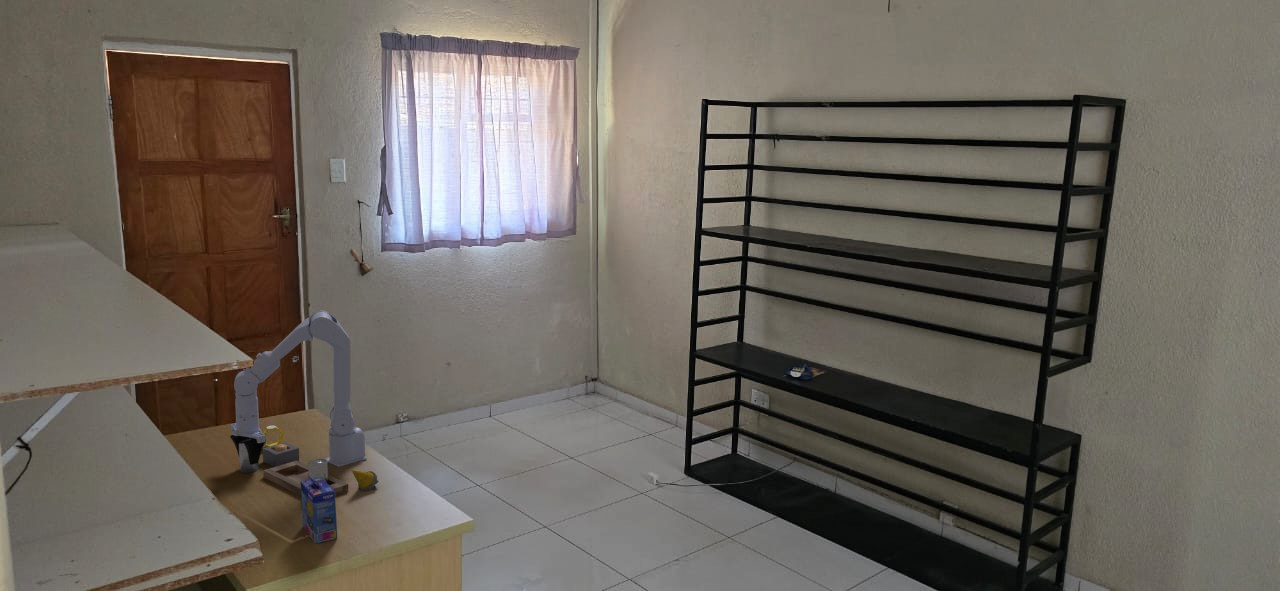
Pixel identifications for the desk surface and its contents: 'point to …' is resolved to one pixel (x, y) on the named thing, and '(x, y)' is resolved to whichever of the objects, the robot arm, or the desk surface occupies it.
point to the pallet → (298, 477)
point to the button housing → (280, 455)
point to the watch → (271, 428)
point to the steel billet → (246, 459)
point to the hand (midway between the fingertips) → (249, 461)
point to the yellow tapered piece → (365, 479)
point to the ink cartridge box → (319, 510)
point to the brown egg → (280, 447)
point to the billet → (318, 469)
